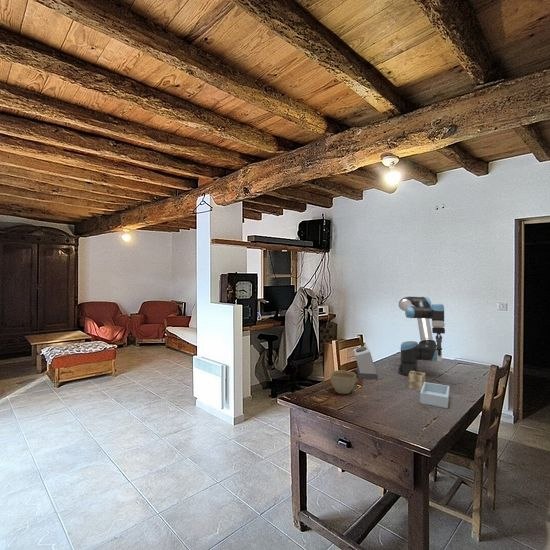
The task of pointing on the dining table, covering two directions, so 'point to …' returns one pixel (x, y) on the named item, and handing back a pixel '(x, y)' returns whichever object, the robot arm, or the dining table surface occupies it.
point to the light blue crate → (434, 394)
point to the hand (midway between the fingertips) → (439, 360)
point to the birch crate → (416, 380)
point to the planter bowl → (343, 381)
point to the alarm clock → (365, 364)
